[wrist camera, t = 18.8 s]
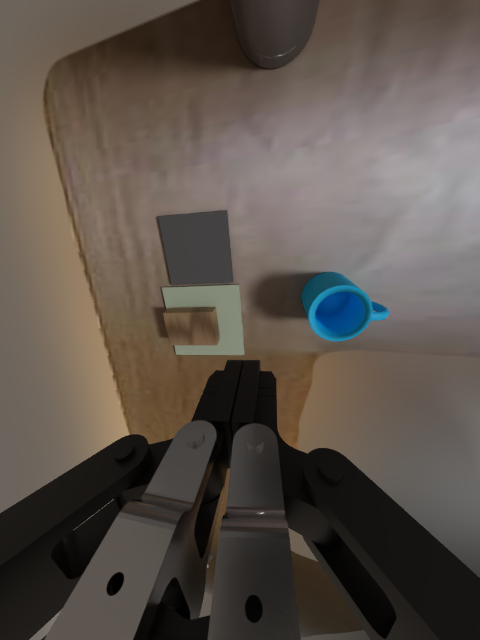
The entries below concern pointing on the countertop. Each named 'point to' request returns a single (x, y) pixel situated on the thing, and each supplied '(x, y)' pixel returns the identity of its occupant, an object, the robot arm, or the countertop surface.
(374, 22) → the countertop surface
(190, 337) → the slab
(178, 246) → the coaster
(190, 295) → the board
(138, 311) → the countertop surface
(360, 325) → the mug
